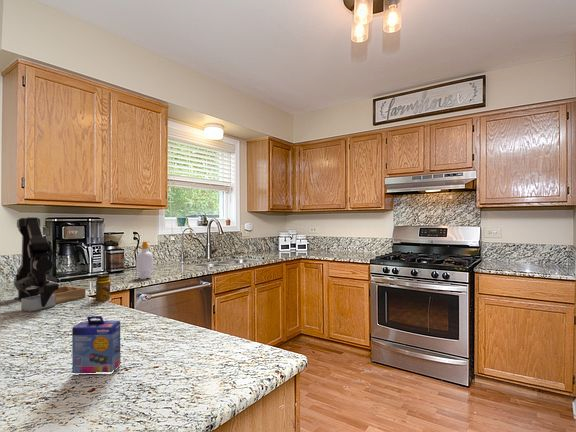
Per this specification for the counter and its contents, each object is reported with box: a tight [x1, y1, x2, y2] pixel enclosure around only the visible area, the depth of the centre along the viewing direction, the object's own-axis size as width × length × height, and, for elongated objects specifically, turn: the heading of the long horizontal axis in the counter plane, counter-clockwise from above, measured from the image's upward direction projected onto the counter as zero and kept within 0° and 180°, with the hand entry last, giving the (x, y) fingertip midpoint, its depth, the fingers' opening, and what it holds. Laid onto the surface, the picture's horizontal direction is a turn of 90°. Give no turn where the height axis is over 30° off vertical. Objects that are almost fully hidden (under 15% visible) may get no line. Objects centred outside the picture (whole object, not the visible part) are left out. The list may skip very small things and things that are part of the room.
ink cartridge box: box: [71, 315, 122, 374], centre depth 86 cm, size 10×6×14 cm, turn 95°
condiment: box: [90, 274, 112, 304], centre depth 162 cm, size 7×8×12 cm
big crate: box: [39, 285, 86, 305], centre depth 164 cm, size 15×15×4 cm
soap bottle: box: [135, 241, 154, 280], centre depth 222 cm, size 10×10×24 cm
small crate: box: [20, 295, 56, 313], centre depth 147 cm, size 10×6×5 cm, turn 156°
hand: (38, 305), depth 147 cm, fingers closed on small crate, 6 cm apart
